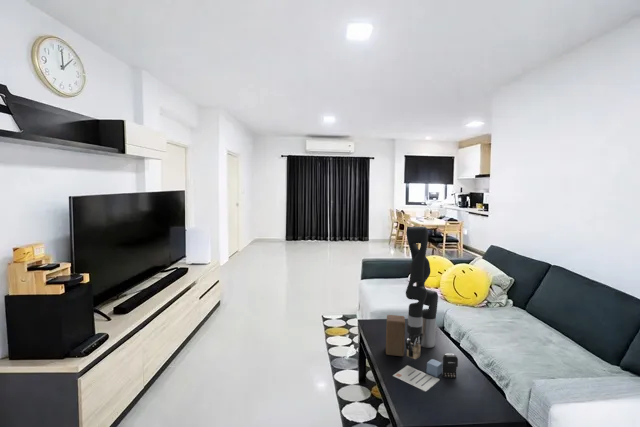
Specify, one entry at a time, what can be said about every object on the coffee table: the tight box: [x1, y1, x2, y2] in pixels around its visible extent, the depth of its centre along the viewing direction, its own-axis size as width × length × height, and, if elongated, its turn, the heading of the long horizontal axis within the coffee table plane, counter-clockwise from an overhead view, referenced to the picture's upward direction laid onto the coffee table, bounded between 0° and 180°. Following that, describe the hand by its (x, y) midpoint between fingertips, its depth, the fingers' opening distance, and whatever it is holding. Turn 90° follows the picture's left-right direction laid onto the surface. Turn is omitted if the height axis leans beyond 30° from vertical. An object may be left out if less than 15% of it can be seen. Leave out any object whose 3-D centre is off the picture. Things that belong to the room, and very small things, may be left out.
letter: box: [392, 365, 440, 392], centre depth 170 cm, size 14×18×1 cm
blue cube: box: [426, 358, 442, 378], centre depth 175 cm, size 6×6×6 cm
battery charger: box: [441, 353, 459, 379], centre depth 171 cm, size 7×4×11 cm, turn 88°
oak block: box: [406, 343, 422, 360], centre depth 182 cm, size 5×5×6 cm
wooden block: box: [385, 314, 406, 357], centre depth 196 cm, size 10×10×20 cm
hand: (413, 354), depth 182 cm, fingers closed on oak block, 5 cm apart
